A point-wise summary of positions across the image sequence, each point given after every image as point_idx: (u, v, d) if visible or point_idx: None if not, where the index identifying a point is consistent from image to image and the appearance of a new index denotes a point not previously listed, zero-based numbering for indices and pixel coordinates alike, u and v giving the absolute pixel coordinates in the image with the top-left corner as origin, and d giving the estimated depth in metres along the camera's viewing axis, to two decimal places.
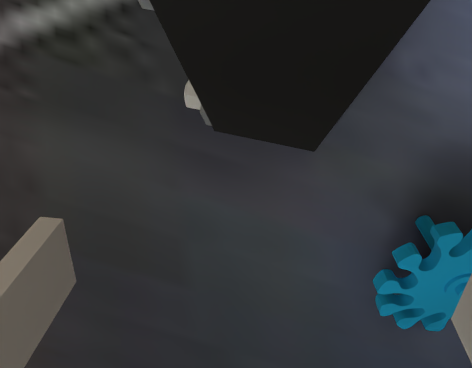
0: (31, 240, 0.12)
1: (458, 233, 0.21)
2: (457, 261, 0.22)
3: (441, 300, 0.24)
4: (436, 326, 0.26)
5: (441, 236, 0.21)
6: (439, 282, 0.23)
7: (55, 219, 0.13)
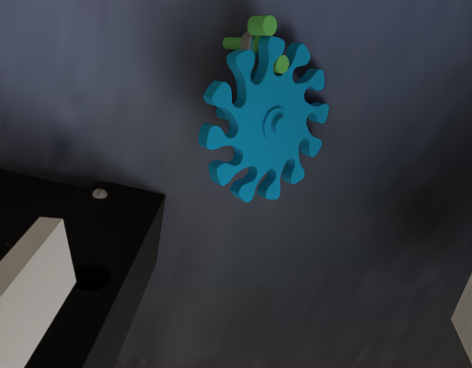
0: (31, 240, 0.12)
1: (217, 171, 0.22)
2: (247, 149, 0.23)
3: (291, 131, 0.25)
4: (323, 113, 0.27)
5: (220, 184, 0.23)
6: (271, 149, 0.25)
7: (55, 219, 0.13)
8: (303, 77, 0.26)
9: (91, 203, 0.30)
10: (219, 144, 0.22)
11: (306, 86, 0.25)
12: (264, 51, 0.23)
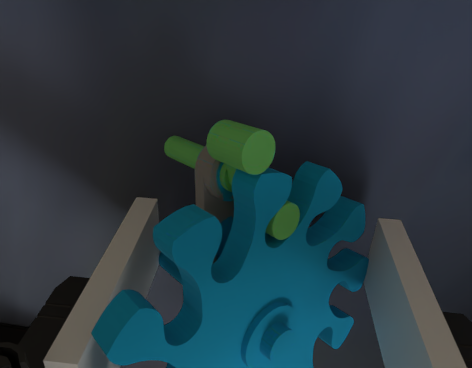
0: (136, 217, 0.13)
1: None
2: None
3: (301, 329, 0.13)
4: (358, 274, 0.14)
5: None
6: None
7: (151, 199, 0.14)
8: (325, 219, 0.13)
9: None
10: None
11: (332, 243, 0.12)
12: (245, 203, 0.10)
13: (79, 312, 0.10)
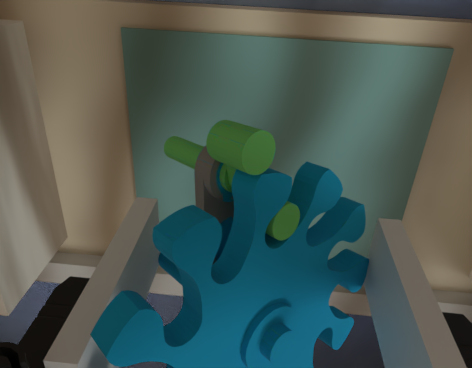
0: (136, 217, 0.13)
1: None
2: None
3: (300, 330, 0.13)
4: (359, 275, 0.14)
5: None
6: None
7: (151, 199, 0.14)
8: (325, 219, 0.13)
9: None
10: None
11: (332, 244, 0.12)
12: (245, 203, 0.10)
13: (79, 312, 0.10)
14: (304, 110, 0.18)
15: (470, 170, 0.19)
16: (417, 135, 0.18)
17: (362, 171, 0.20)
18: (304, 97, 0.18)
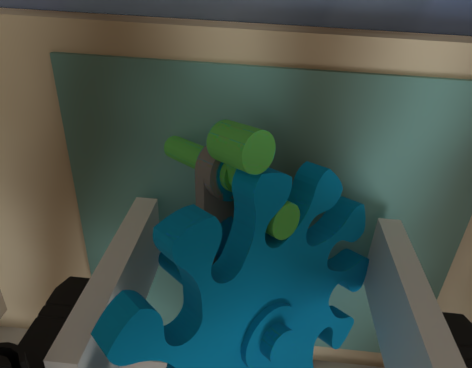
0: (136, 217, 0.13)
1: None
2: None
3: (301, 329, 0.13)
4: (359, 274, 0.14)
5: None
6: None
7: (151, 199, 0.14)
8: (325, 219, 0.13)
9: None
10: None
11: (332, 244, 0.12)
12: (246, 203, 0.10)
13: (79, 312, 0.10)
14: None
15: None
16: (464, 198, 0.13)
17: None
18: (309, 147, 0.13)
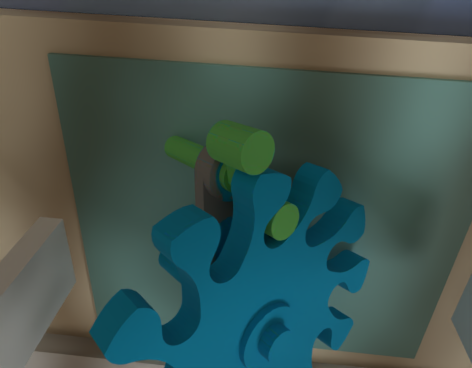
0: (31, 240, 0.12)
1: None
2: None
3: (299, 330, 0.13)
4: (358, 275, 0.14)
5: None
6: None
7: (55, 219, 0.13)
8: (325, 220, 0.13)
9: None
10: None
11: (332, 244, 0.12)
12: (245, 203, 0.10)
13: None
14: None
15: None
16: (465, 200, 0.13)
17: (387, 243, 0.15)
18: (309, 149, 0.13)
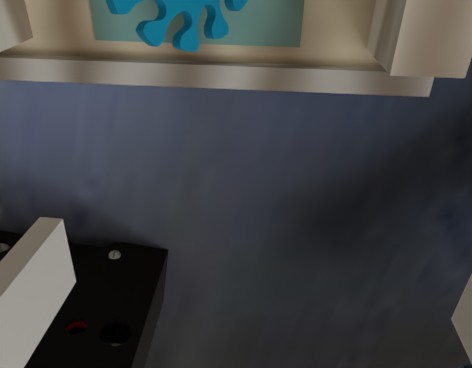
0: (31, 240, 0.12)
1: None
2: None
3: None
4: None
5: (117, 12, 0.20)
6: None
7: (55, 219, 0.13)
8: None
9: (108, 264, 0.36)
10: None
11: None
12: None
13: None
14: None
15: None
16: None
17: None
18: None
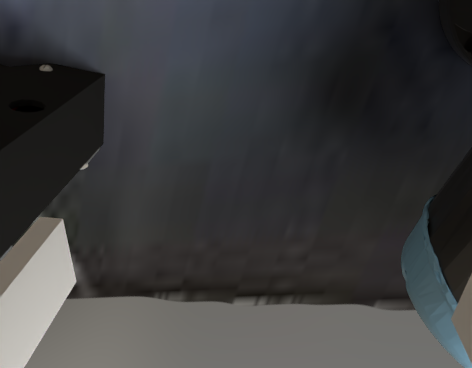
0: (31, 240, 0.12)
1: None
2: None
3: None
4: None
5: None
6: None
7: (55, 219, 0.13)
8: None
9: (37, 73, 0.35)
10: None
11: None
12: None
13: None
14: None
15: None
16: None
17: None
18: None
